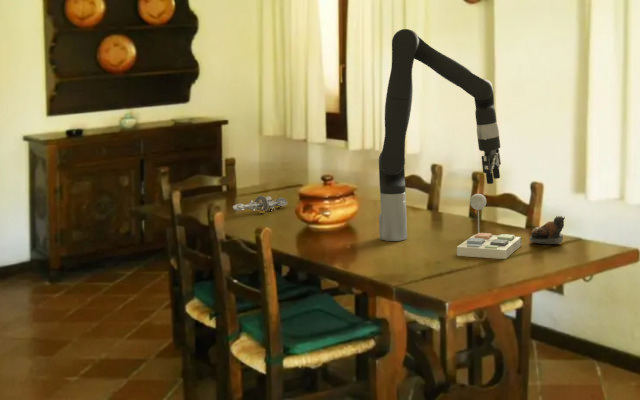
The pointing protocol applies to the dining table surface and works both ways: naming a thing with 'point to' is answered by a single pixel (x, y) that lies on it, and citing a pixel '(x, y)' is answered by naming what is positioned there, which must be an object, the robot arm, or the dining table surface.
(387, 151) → the robot arm
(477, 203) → the lollipop
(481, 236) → the key terracotta
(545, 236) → the brown cat figurine
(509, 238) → the key sage
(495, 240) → the key charcoal
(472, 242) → the key slate
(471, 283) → the dining table surface
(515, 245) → the keypad
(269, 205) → the spaceship
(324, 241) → the dining table surface
